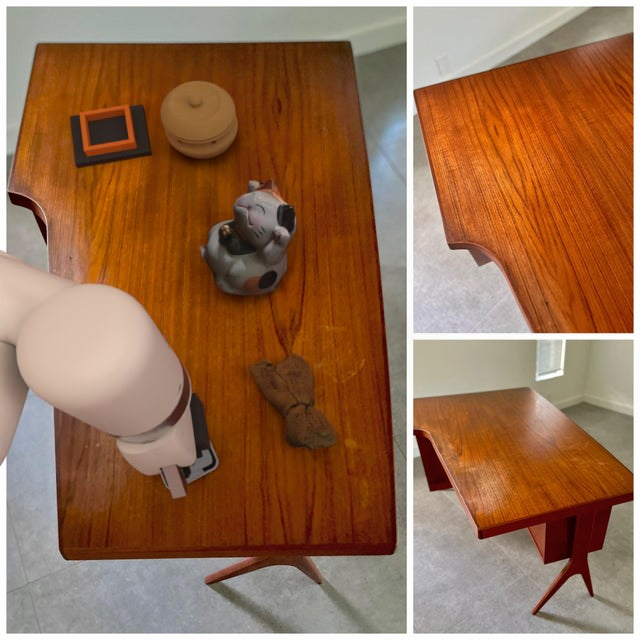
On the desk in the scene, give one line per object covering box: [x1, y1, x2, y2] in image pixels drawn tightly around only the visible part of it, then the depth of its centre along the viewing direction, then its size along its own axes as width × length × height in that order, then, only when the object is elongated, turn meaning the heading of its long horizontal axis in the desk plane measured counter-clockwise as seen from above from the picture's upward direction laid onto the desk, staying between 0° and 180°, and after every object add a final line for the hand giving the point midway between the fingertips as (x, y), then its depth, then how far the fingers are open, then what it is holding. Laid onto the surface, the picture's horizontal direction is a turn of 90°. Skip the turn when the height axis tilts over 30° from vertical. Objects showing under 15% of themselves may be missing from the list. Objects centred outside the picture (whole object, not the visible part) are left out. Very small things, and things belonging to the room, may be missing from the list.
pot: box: [160, 80, 239, 160], centre depth 85 cm, size 12×12×10 cm
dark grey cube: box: [190, 392, 211, 451], centre depth 55 cm, size 5×5×6 cm
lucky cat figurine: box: [199, 178, 297, 296], centre depth 76 cm, size 15×12×14 cm
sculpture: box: [248, 353, 338, 451], centre depth 69 cm, size 8×10×15 cm
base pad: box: [69, 104, 153, 169], centre depth 88 cm, size 12×10×2 cm
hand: (183, 430), depth 57 cm, fingers closed on dark grey cube, 5 cm apart
